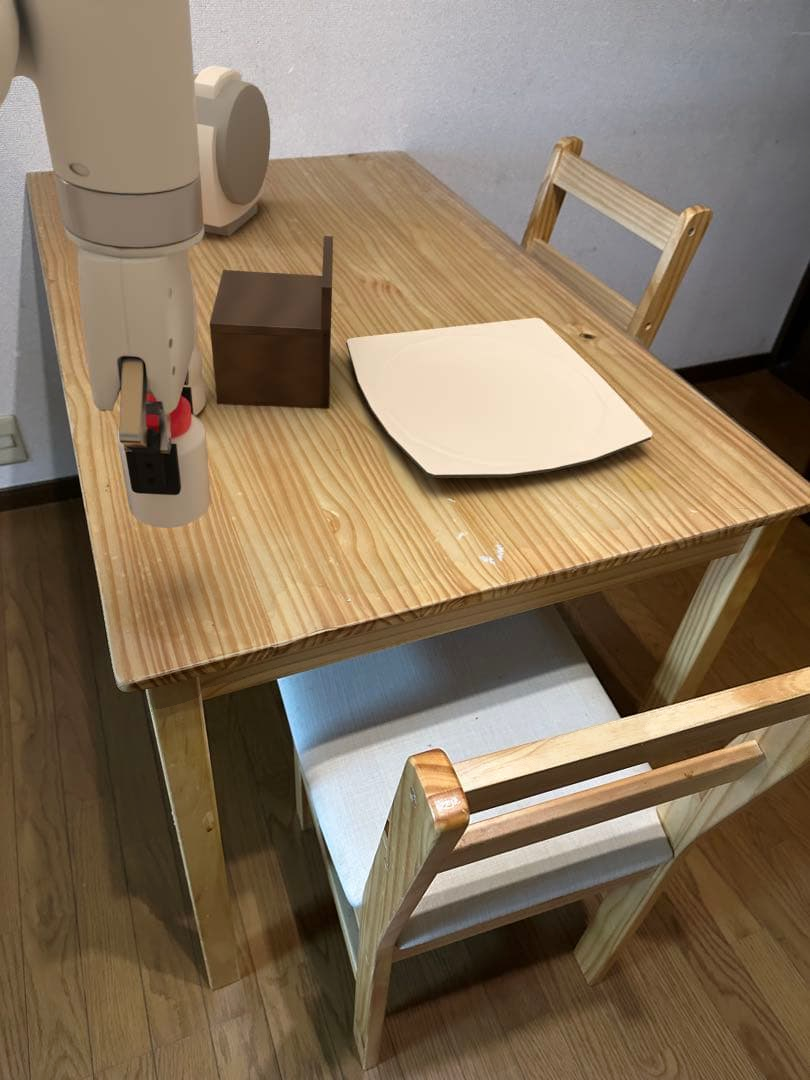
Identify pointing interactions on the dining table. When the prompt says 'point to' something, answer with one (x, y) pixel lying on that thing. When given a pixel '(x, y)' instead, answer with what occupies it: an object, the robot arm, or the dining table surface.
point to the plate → (491, 399)
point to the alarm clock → (230, 147)
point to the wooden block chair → (273, 337)
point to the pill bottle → (192, 473)
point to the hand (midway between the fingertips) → (165, 459)
